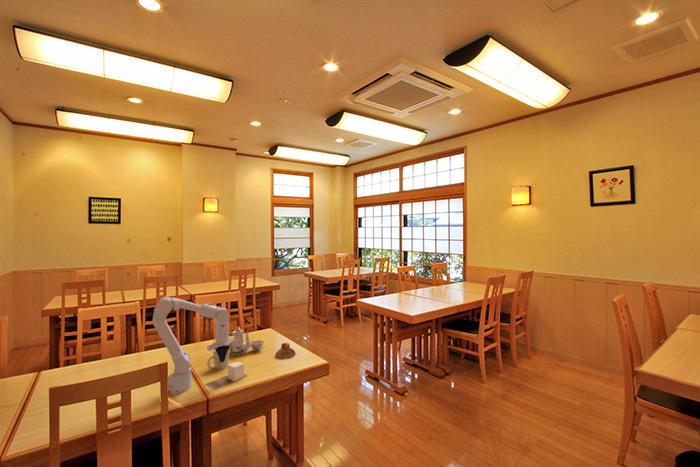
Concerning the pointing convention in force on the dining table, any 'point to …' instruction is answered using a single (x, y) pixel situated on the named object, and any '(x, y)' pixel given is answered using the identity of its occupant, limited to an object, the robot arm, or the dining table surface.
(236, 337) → the chinaware
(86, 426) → the dining table surface
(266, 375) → the dining table surface
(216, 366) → the mug
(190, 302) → the robot arm
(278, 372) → the dining table surface
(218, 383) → the stand
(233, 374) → the tan rectangular block
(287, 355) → the bell
